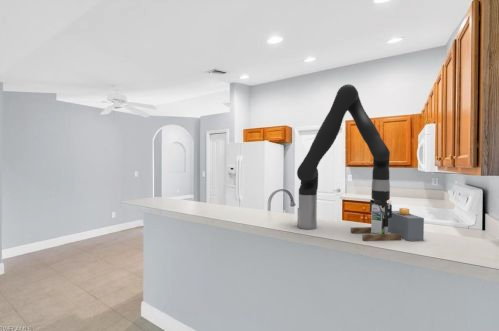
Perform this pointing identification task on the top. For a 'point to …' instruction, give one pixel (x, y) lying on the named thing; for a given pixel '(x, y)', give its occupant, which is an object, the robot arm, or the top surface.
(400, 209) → the gauge button
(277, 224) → the top surface
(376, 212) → the syrup box
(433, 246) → the top surface
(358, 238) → the top surface
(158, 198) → the top surface
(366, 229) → the guide rails
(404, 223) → the end cabinet
